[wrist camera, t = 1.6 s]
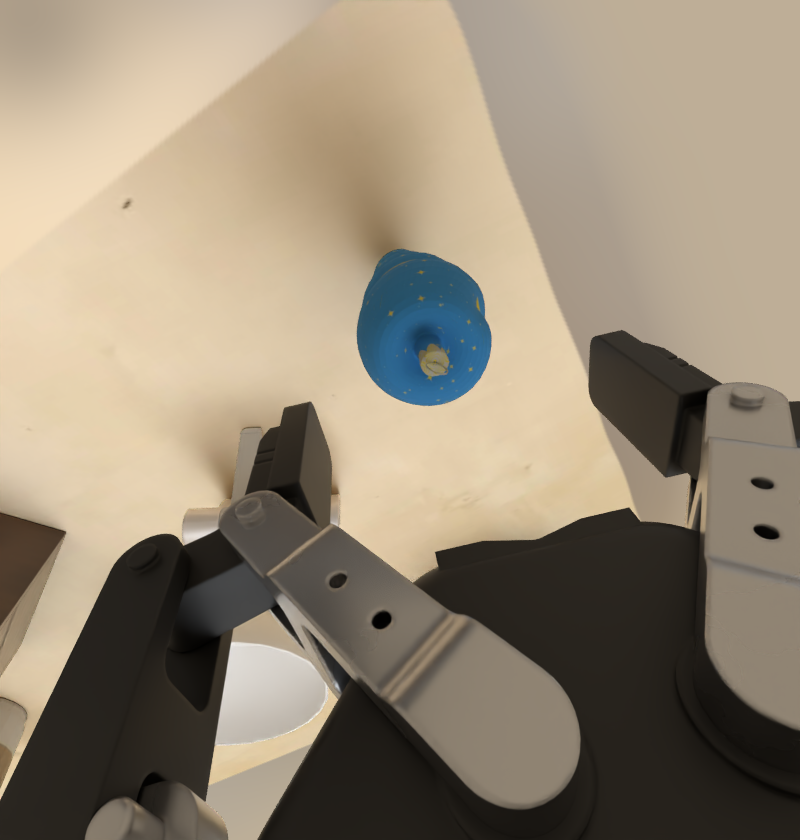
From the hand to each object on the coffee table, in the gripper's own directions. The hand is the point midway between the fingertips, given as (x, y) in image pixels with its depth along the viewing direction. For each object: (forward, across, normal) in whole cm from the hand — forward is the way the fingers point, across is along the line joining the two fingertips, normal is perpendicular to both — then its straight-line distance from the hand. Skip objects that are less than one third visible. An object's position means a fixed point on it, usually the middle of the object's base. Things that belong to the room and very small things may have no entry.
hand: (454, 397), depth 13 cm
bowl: (+16, +20, +29) cm, 39 cm away
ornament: (+16, 0, 0) cm, 16 cm away
